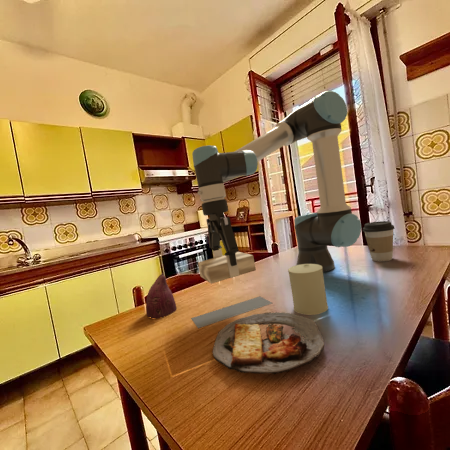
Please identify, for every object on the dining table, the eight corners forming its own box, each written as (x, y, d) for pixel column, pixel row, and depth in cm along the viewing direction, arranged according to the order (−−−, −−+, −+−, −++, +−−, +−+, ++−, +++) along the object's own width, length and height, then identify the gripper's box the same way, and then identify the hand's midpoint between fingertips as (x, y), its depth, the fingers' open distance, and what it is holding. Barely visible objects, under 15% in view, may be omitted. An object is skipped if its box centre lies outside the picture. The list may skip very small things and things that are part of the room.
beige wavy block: (200, 276, 80) (197, 262, 80) (240, 264, 85) (238, 251, 85) (211, 283, 70) (208, 267, 70) (255, 270, 75) (253, 255, 75)
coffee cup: (360, 258, 112) (356, 224, 111) (386, 254, 112) (382, 220, 111) (376, 264, 100) (371, 226, 99) (405, 259, 100) (400, 221, 99)
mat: (191, 319, 78) (191, 318, 78) (260, 297, 87) (260, 296, 86) (198, 329, 70) (198, 328, 70) (273, 304, 79) (272, 303, 79)
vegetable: (181, 315, 91) (186, 272, 90) (165, 325, 81) (170, 278, 80) (156, 308, 94) (161, 267, 94) (137, 317, 84) (142, 272, 84)
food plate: (337, 379, 43) (334, 359, 43) (204, 387, 47) (201, 368, 47) (311, 317, 68) (309, 304, 68) (225, 325, 72) (223, 313, 72)
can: (329, 301, 74) (323, 261, 73) (327, 316, 66) (321, 270, 65) (296, 301, 78) (290, 262, 77) (291, 315, 70) (284, 272, 69)
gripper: (191, 205, 85) (204, 269, 87) (214, 199, 64) (230, 284, 66) (212, 201, 88) (224, 264, 90) (241, 194, 67) (256, 277, 68)
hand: (227, 272), depth 78 cm, fingers closed on beige wavy block, 10 cm apart
